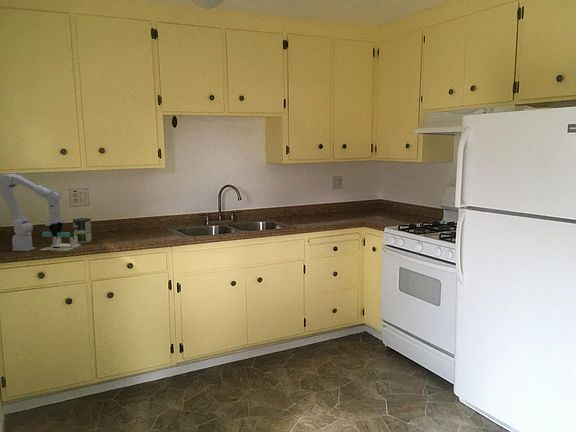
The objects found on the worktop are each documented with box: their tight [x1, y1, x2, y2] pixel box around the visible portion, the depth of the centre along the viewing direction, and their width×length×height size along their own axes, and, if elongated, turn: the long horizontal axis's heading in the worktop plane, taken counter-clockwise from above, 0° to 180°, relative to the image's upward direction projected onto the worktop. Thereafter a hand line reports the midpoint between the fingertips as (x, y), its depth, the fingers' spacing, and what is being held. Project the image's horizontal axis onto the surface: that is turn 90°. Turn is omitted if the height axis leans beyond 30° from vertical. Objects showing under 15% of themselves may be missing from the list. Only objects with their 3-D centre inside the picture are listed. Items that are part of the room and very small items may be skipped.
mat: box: [39, 247, 74, 252], centre depth 262 cm, size 17×6×1 cm, turn 81°
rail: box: [41, 231, 71, 238], centre depth 262 cm, size 16×2×2 cm, turn 82°
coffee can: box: [72, 217, 93, 244], centre depth 285 cm, size 10×10×14 cm
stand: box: [49, 235, 82, 249], centre depth 270 cm, size 15×7×6 cm, turn 81°
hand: (56, 236), depth 262 cm, fingers closed on rail, 2 cm apart
